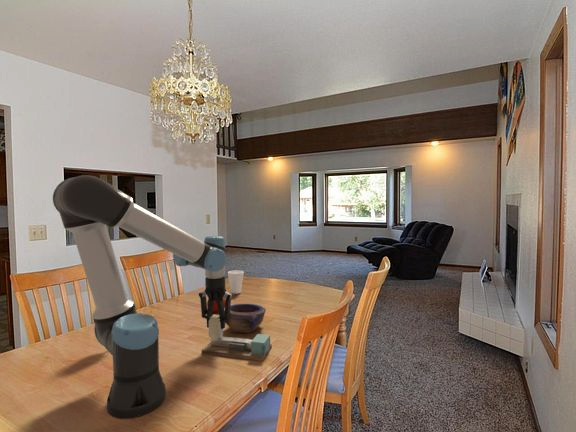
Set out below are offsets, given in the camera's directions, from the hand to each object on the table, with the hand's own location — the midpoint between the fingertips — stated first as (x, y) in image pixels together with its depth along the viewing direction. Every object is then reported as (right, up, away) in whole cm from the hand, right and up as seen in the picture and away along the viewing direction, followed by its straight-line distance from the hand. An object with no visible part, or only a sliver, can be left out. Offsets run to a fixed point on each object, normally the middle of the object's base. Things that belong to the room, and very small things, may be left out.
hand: (216, 336), depth 124 cm
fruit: (-9, -3, +42) cm, 43 cm away
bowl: (+9, -4, +19) cm, 21 cm away
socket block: (+18, -3, -4) cm, 19 cm away
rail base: (+9, -5, -2) cm, 10 cm away
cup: (-5, -2, +76) cm, 76 cm away
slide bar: (+6, -3, -2) cm, 7 cm away
